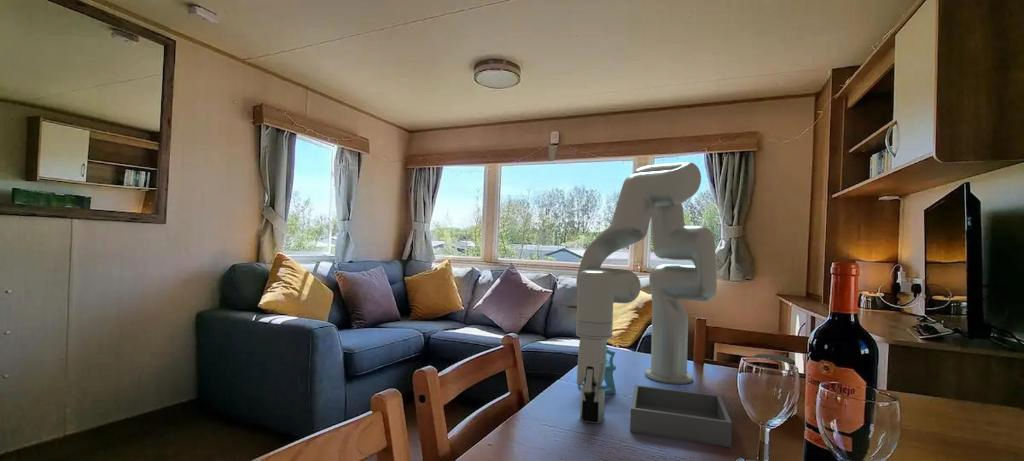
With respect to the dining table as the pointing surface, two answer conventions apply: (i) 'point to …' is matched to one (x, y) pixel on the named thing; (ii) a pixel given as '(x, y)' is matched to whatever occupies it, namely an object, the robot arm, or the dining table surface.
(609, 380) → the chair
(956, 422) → the dining table surface
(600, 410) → the pale green capsule
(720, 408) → the bin
